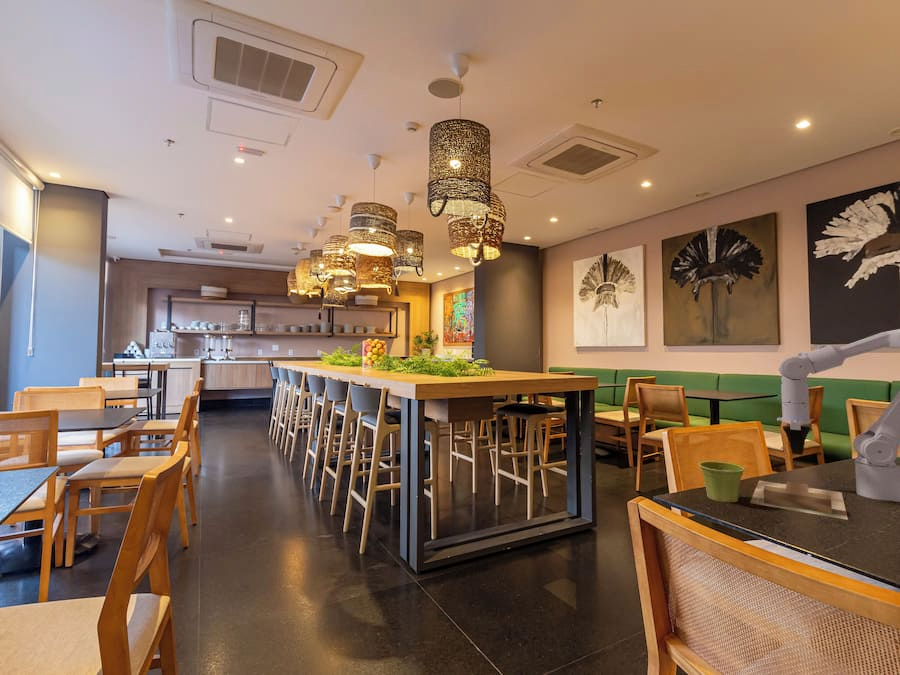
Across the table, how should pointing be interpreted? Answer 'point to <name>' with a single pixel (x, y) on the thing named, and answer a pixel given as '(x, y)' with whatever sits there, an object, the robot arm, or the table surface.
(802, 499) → the t block
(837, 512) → the t board
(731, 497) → the plant pot
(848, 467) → the table surface
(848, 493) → the table surface
